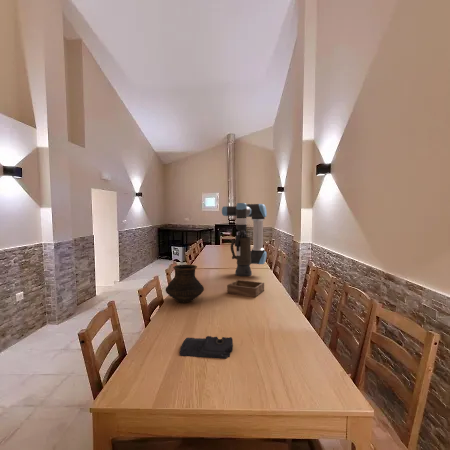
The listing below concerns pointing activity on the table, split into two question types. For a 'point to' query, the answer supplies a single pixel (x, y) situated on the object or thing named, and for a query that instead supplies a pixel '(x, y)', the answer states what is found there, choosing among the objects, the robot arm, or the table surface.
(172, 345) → the table surface
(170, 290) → the ceramic pot
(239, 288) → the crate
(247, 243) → the beer stein
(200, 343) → the dark grey flat piece
